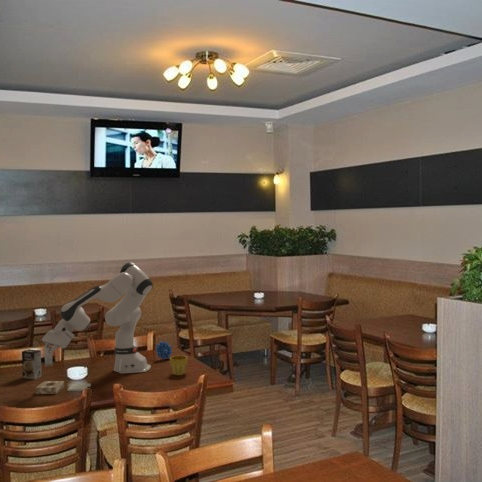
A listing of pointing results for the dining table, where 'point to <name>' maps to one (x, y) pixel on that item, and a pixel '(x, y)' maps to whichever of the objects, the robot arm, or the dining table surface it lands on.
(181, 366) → the plant pot
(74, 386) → the sage plate
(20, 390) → the dining table surface
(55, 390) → the pocket block
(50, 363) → the metal peg
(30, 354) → the coffee box
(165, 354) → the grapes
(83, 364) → the dining table surface
